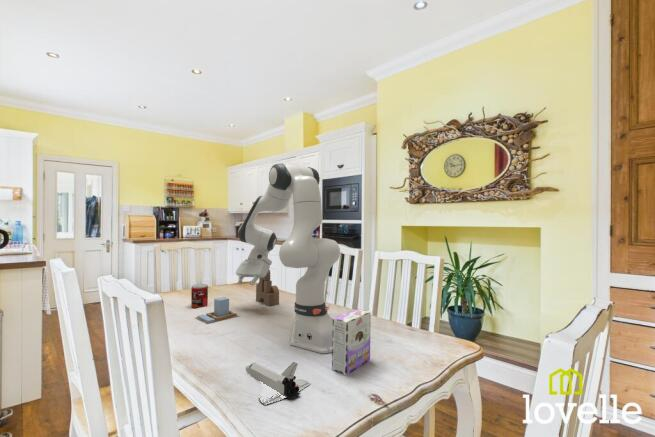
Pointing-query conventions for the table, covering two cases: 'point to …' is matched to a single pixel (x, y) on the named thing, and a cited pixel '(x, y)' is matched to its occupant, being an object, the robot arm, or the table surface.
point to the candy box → (350, 341)
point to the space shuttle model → (278, 381)
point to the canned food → (199, 295)
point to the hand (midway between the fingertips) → (245, 284)
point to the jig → (217, 319)
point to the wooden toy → (267, 291)
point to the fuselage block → (221, 307)
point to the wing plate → (206, 318)
